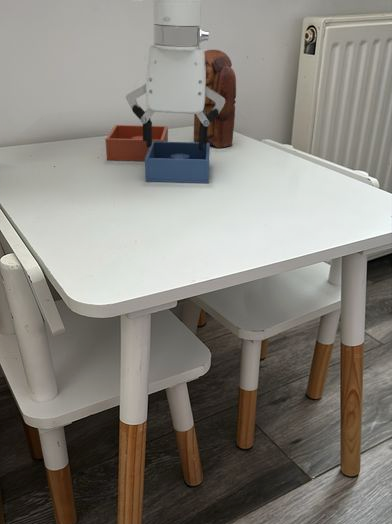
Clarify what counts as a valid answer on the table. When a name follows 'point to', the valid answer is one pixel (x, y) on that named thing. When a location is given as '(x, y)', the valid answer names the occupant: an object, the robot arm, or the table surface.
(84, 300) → the table surface
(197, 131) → the wooden figurine
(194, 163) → the blue bin
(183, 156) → the blue curved block
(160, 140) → the red bin
